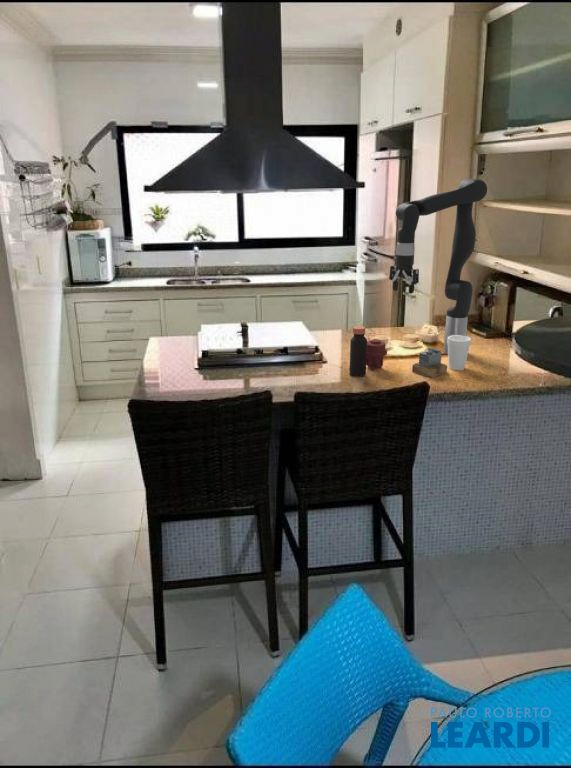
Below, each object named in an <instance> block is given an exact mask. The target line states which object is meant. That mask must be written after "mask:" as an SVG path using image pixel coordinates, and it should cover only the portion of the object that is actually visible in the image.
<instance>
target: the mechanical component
mask: <svg viewBox="0 0 571 768" xmlns="http://www.w3.org/2000/svg"><path fill="white" fill-rule="evenodd" d="M387 354H388V350H387V348H386V342H385V341H383V340H380V339H377V338H374V339H371V340H367V360H366V367H367V368H369V369H371V370H372V371H373V372H375V371H377V370H378V369H382V368H383V365H384V357H385V356H387Z"/></svg>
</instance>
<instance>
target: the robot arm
mask: <svg viewBox="0 0 571 768" xmlns="http://www.w3.org/2000/svg"><path fill="white" fill-rule="evenodd" d="M487 193H488V186H487V183H486V182H485V181H484V180H482V179H479V178H466V179H463V180H461V182H460V183H459V185H458V187H457V189H454V190H450V191H449V190H448V191H444V192H440V193H435V194H432V195H428V196H426V197H424V198H420V199H416V200H412V201H411V200H410V201H407V202H403V203H401V204H399V205H398V206H397V208H396V210H395V216H396V218H397V219H398V220H399V221H401V222H402V225H401V227H400V228H399V229H398V231H397V239H396V241H397V243H396V249H395V264H394V265H391V266H390V267H389V276H388V277H389V280H390V281H392V290H393V291H399V290H398V289H399V279H401V278H402V279H405V280H406V281H407V282H408V294H413V293H414V292H415V285H417V284H419V281H420V279H419V278H420V269H419V268H416V269H415V268H413V266H414V264H415V252H416V251H415V250H416V247H415V239H416V238H415V237H416V230H417V228H418V223H419V221H420V220H419V219H420V216H423V217H424V216H429V215H432V214H435V213H438V212H440V211H442V210H445V209H449V208H453V207H455V206H456V214H455V223H454V224H455V225H454V233H453V239H452V246H451V249H452V250H451V255H450V262H449V266H448V267H449V268H448V273H447V275H446V276H447V277H446V279H445V284H444V285H445V287H444V296H445V297H446V298H447V299H448V300H453V301H455V306H452V307H449V308H447V309H446V321H445V329H444V342H443V353H444V354H446V355H448V343H447V338H448V337H449V336H452V335H461V336H467V337H468V332H467V330H468V329H467V327H468V318H469V313H470V310H471V305H472V298H473V285H472V283H471V282H470V281H468V280H463V279H461V275H462V271H463V268H464V266H465V265H466V263H467V262H468V260H469V259H470V257H471V256H472V254H473V253H474V250H475V245H476V238H477V233H476V232H477V231H476V227H475V222H474V220H473V206H474V203H477V202H480V201H482V200H483V199H484V198H485V197H486V195H487Z"/></svg>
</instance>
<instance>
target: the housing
mask: <svg viewBox="0 0 571 768" xmlns="http://www.w3.org/2000/svg"><path fill="white" fill-rule="evenodd" d="M442 353H443V352H442V350H440V349H437V348H432V347H429V348H428V349H425V350H424V351H423V352H419V353H418V354H419V356H418V358H419V359H418V362H419V365H422V366H425V367H428V368H429V367H432V366H435V365H438V364H441V363H442Z"/></svg>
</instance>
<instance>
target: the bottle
mask: <svg viewBox="0 0 571 768" xmlns="http://www.w3.org/2000/svg"><path fill="white" fill-rule="evenodd" d="M352 334H353V336H352V337H351V338H350V341H349V342H350V344H349V347H350V348H349V349H350V350H349V375H350V376H351V377H355V378H362V377H366V375H367V365H366V360H367V341H368V338H367V337H366V336H365V335H366V326H362V325H359V326H357V325H355V326H353V327H352Z"/></svg>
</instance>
